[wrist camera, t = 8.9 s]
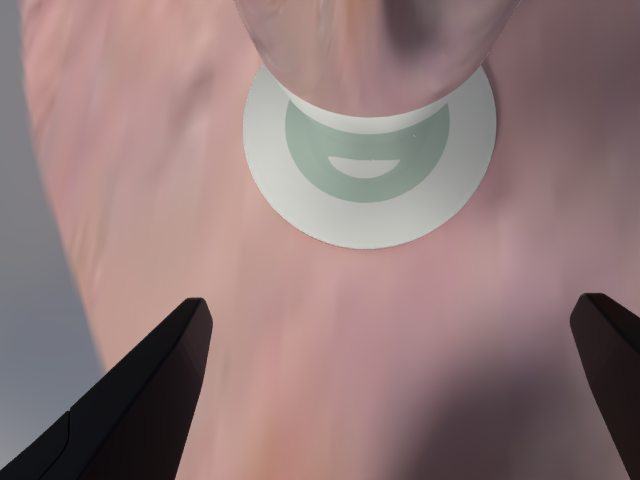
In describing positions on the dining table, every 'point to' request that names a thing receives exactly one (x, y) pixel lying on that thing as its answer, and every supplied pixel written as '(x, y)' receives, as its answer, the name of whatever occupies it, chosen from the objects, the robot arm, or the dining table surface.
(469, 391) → the dining table surface
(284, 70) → the beer glass
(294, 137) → the grey peg stand
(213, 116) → the dining table surface
